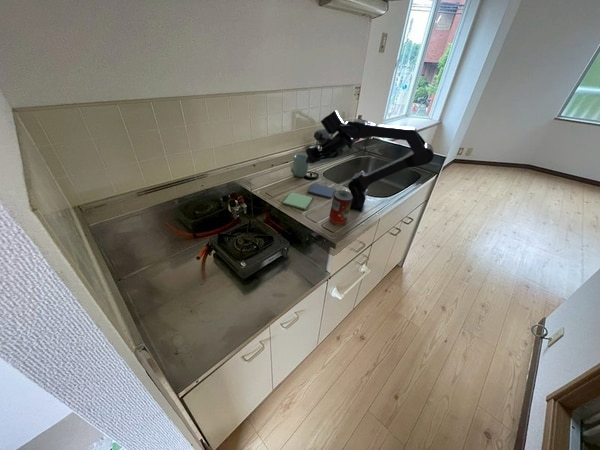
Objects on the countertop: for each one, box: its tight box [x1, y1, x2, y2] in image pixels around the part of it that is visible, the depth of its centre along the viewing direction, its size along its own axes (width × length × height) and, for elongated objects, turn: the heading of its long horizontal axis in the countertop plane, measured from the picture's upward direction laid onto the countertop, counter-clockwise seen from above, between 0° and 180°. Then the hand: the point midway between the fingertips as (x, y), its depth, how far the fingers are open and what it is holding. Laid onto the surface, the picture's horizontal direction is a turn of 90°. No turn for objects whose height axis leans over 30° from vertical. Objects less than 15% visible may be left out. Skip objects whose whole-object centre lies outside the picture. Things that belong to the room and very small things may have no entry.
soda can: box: [329, 189, 353, 226], centre depth 91 cm, size 7×7×12 cm
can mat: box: [307, 183, 336, 199], centre depth 113 cm, size 11×9×1 cm
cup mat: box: [282, 191, 313, 211], centre depth 103 cm, size 10×10×1 cm
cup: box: [292, 153, 310, 178], centre depth 122 cm, size 8×8×10 cm
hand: (313, 160), depth 107 cm, fingers open, 9 cm apart
